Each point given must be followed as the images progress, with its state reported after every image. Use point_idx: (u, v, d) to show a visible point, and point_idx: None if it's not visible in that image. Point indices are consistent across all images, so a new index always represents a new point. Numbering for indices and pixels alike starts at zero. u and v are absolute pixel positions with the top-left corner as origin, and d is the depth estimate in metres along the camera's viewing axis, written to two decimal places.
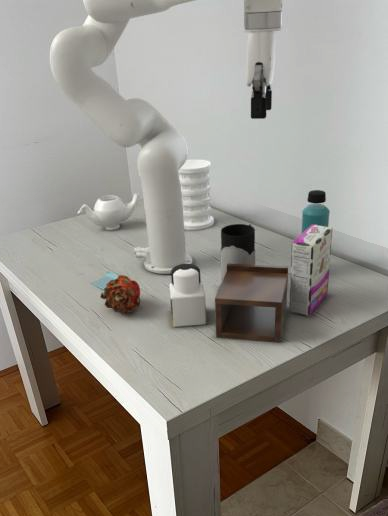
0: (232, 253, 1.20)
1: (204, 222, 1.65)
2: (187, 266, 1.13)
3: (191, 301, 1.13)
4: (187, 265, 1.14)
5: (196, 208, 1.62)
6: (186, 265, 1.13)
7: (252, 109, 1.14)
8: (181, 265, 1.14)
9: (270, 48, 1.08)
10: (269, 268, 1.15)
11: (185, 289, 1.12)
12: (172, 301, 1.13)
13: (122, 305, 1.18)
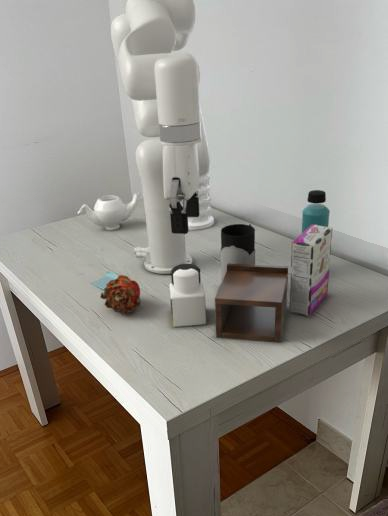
0: (232, 253, 1.20)
1: (204, 222, 1.65)
2: (187, 266, 1.13)
3: (191, 301, 1.13)
4: (187, 264, 1.14)
5: None
6: (186, 265, 1.13)
7: (172, 224, 1.03)
8: (181, 265, 1.14)
9: (188, 162, 0.98)
10: (269, 268, 1.15)
11: (185, 289, 1.12)
12: (172, 301, 1.13)
13: (122, 305, 1.18)
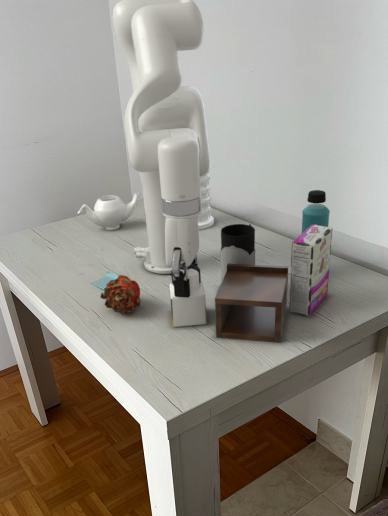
0: (232, 253, 1.20)
1: (204, 222, 1.65)
2: None
3: (191, 301, 1.13)
4: None
5: None
6: None
7: (175, 288, 1.11)
8: None
9: (188, 234, 1.04)
10: (269, 268, 1.15)
11: None
12: (172, 301, 1.13)
13: (122, 305, 1.18)
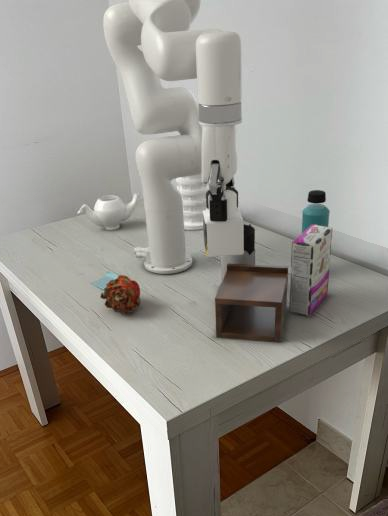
0: None
1: None
2: None
3: (228, 226, 1.02)
4: None
5: (196, 208, 1.62)
6: None
7: (211, 211, 1.00)
8: None
9: (228, 144, 0.93)
10: (269, 268, 1.15)
11: None
12: (207, 226, 1.02)
13: (122, 305, 1.18)
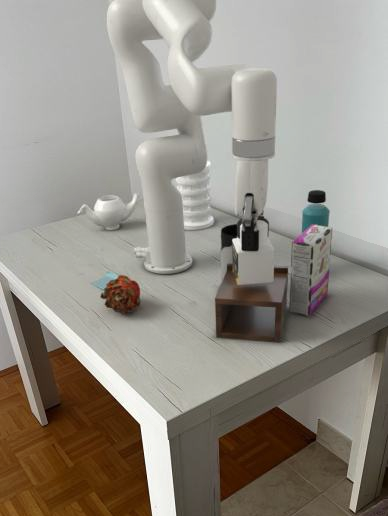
0: None
1: (204, 222, 1.65)
2: None
3: (259, 256, 1.04)
4: None
5: (196, 208, 1.62)
6: None
7: (243, 241, 1.02)
8: None
9: (262, 178, 0.95)
10: None
11: None
12: (238, 256, 1.03)
13: (122, 305, 1.18)
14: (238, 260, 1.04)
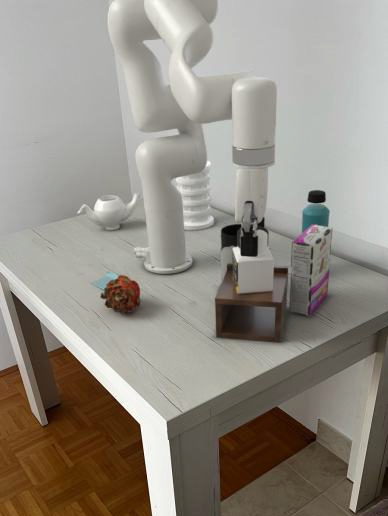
0: None
1: (204, 222, 1.65)
2: None
3: (259, 265, 1.05)
4: None
5: (196, 208, 1.62)
6: (253, 226, 1.05)
7: (242, 247, 1.01)
8: None
9: (262, 186, 0.96)
10: None
11: None
12: (238, 265, 1.04)
13: (122, 305, 1.18)
14: (238, 269, 1.05)
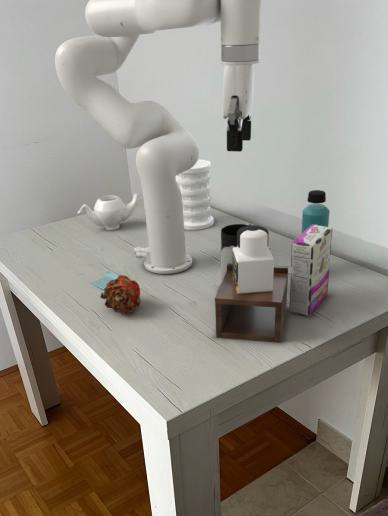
0: None
1: (204, 222, 1.65)
2: (255, 227, 1.05)
3: (259, 265, 1.05)
4: (254, 226, 1.05)
5: (196, 208, 1.62)
6: (253, 226, 1.05)
7: (228, 142, 1.11)
8: (248, 226, 1.05)
9: (246, 81, 1.06)
10: None
11: (253, 252, 1.04)
12: (238, 265, 1.04)
13: (122, 305, 1.18)
14: (238, 269, 1.05)
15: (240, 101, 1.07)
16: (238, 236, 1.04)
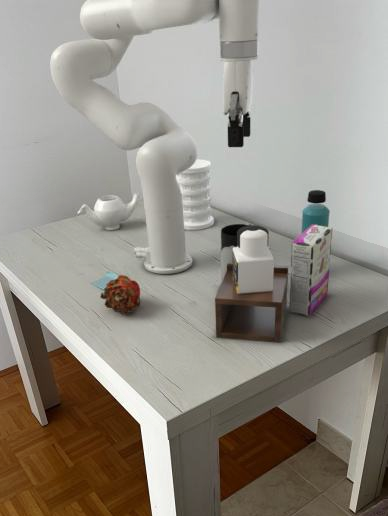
0: None
1: (204, 222, 1.65)
2: (255, 227, 1.05)
3: (259, 265, 1.05)
4: (254, 226, 1.05)
5: (196, 208, 1.62)
6: (253, 226, 1.05)
7: (229, 138, 1.12)
8: (248, 226, 1.05)
9: (246, 77, 1.07)
10: None
11: (253, 252, 1.04)
12: (238, 265, 1.04)
13: (122, 305, 1.18)
14: (238, 269, 1.05)
15: (240, 97, 1.08)
16: (238, 236, 1.04)
